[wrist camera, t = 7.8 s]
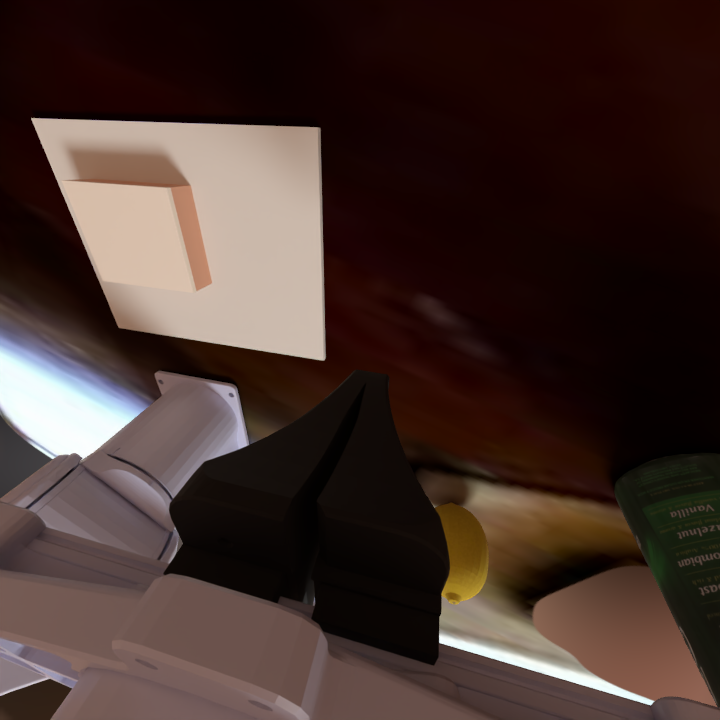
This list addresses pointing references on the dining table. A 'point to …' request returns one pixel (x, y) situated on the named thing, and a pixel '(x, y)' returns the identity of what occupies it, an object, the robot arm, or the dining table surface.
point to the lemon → (463, 553)
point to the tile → (142, 232)
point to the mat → (218, 225)
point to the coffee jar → (682, 545)
